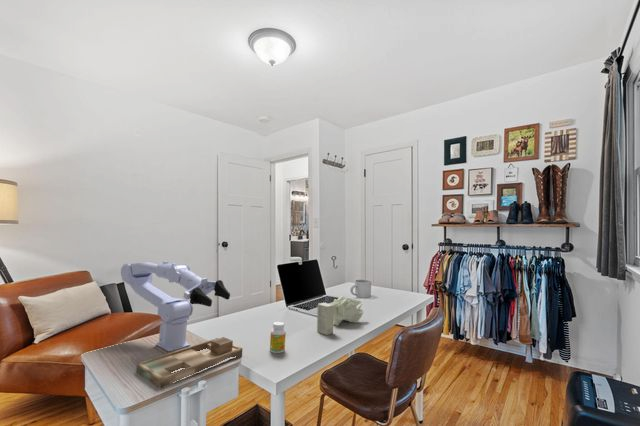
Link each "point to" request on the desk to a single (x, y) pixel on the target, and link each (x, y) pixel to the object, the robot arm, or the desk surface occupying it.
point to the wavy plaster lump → (346, 310)
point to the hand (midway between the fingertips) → (220, 300)
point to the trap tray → (182, 363)
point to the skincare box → (325, 318)
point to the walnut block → (221, 346)
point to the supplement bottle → (277, 338)
